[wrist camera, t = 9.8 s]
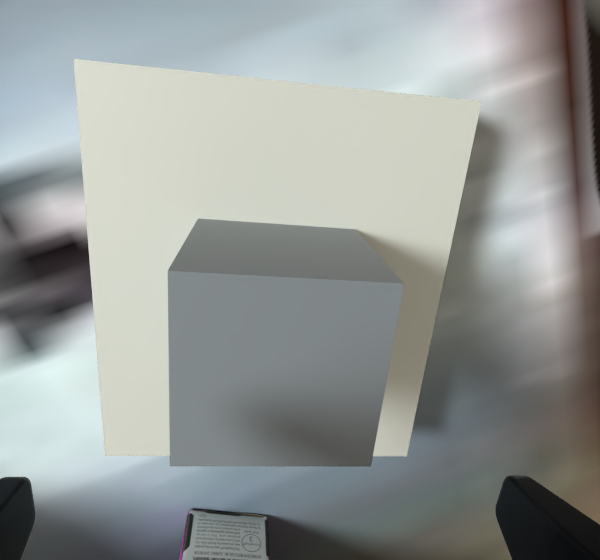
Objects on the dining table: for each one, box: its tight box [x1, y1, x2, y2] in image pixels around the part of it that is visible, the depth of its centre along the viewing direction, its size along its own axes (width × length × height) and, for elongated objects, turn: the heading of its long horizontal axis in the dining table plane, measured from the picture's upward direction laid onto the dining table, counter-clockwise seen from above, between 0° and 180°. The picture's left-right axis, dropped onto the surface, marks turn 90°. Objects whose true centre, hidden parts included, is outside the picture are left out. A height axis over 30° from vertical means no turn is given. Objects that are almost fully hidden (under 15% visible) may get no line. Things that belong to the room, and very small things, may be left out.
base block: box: [74, 59, 482, 456], centre depth 19 cm, size 16×14×3 cm
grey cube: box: [168, 218, 404, 466], centre depth 15 cm, size 6×6×6 cm
